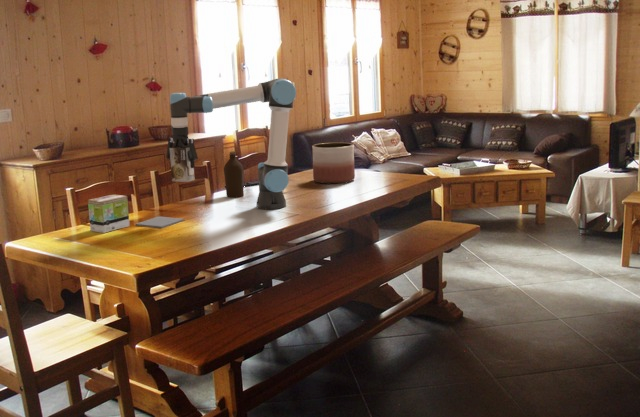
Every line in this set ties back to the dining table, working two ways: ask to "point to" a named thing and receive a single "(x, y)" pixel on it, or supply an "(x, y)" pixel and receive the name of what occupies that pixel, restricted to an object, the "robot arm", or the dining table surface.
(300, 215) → the dining table surface
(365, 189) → the dining table surface
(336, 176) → the planter
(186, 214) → the dining table surface
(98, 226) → the tea box
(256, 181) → the remote control
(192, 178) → the coffee box
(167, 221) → the charcoal mat
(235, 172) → the olive oil
